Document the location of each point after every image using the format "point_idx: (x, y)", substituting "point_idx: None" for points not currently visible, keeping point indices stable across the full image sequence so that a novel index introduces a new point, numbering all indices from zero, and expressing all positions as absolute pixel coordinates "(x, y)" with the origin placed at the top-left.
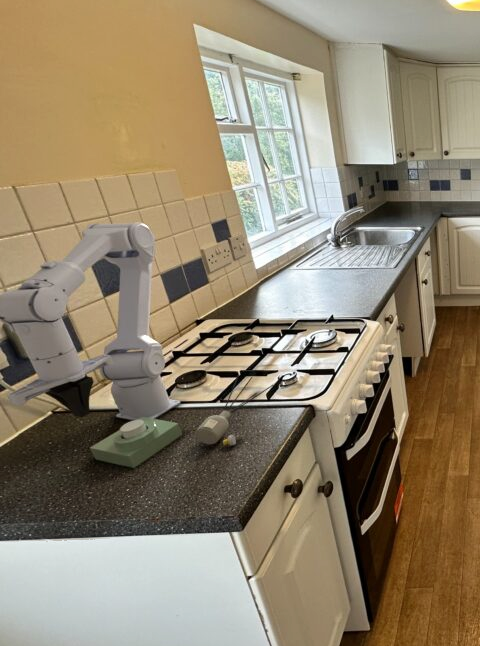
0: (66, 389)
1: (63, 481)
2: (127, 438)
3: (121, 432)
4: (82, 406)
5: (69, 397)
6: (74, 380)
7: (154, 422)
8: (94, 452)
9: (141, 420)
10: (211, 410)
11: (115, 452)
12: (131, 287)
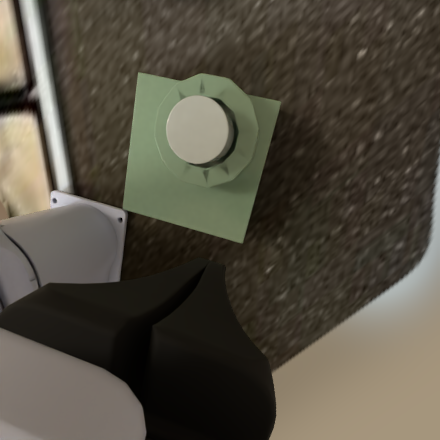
0: (201, 397)
1: (313, 245)
2: (233, 131)
3: (226, 145)
4: (204, 274)
5: (233, 329)
6: (116, 399)
7: (141, 152)
8: (246, 230)
9: (170, 118)
10: (66, 83)
11: (263, 156)
12: None
